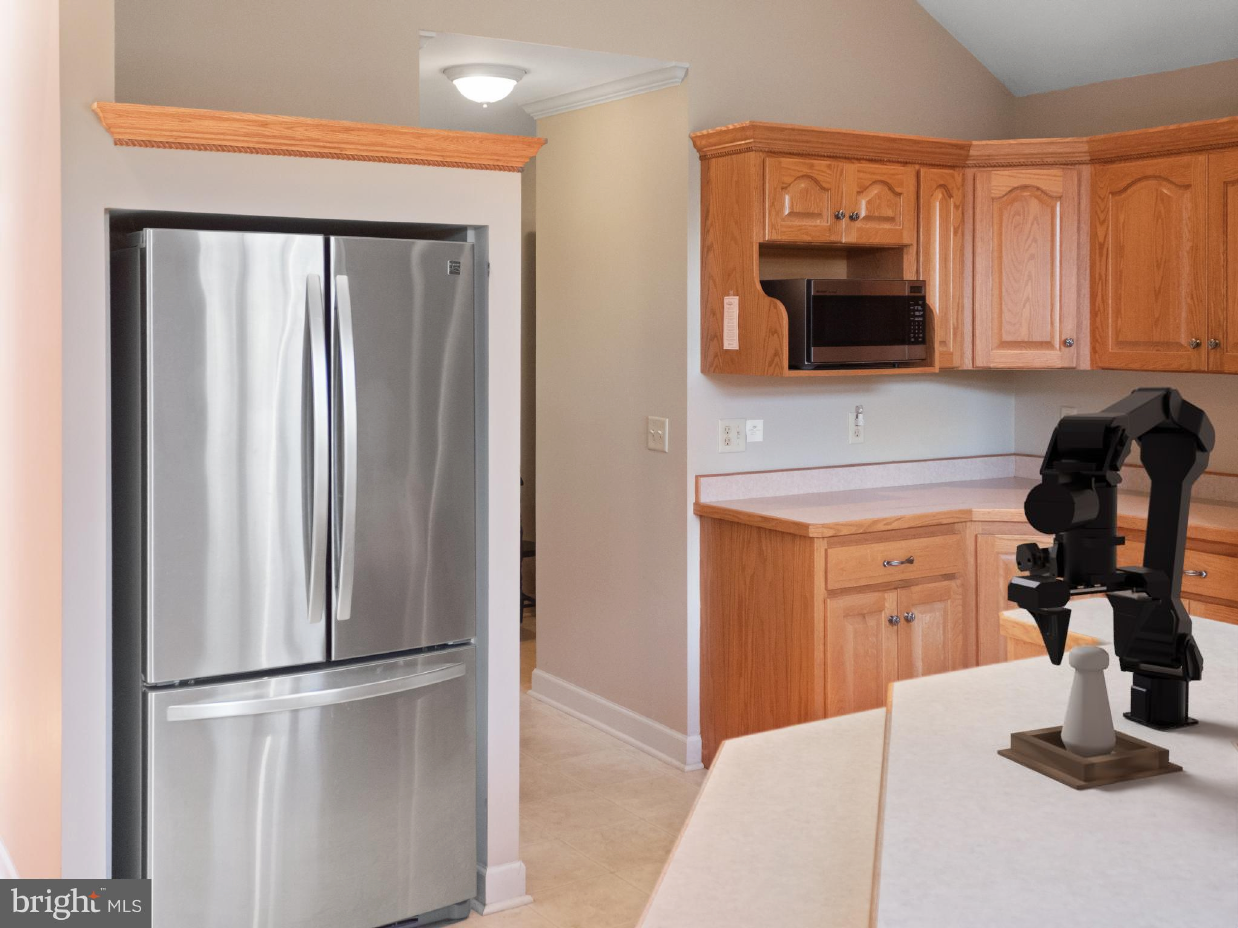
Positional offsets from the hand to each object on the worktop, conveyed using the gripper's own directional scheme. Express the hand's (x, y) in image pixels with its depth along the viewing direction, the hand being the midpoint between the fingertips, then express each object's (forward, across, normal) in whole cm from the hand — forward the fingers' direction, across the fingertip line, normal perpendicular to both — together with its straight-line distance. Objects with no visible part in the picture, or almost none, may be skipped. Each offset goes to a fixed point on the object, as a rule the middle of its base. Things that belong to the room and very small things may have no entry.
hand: (1088, 660), depth 132 cm
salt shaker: (+12, 0, 0) cm, 12 cm away
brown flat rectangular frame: (+12, 0, 0) cm, 12 cm away
